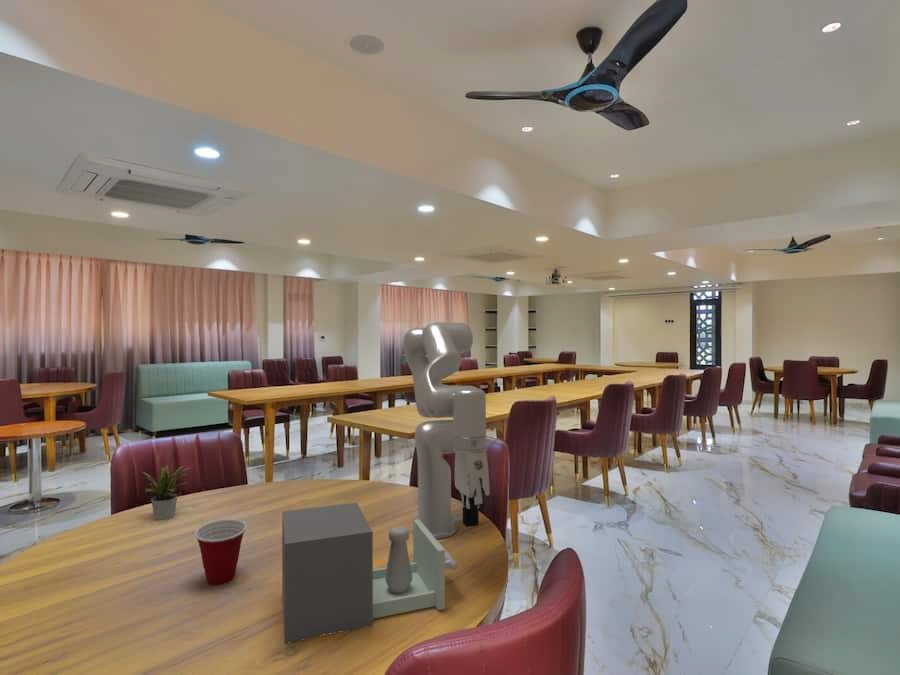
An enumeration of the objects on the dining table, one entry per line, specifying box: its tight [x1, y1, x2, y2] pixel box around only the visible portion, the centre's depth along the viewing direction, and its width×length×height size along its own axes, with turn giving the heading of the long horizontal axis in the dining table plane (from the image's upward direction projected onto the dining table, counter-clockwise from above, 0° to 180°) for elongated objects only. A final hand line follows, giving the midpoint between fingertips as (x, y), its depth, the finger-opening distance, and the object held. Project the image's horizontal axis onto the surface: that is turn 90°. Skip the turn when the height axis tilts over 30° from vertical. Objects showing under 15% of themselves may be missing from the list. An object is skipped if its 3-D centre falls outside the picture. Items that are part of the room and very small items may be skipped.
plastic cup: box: [194, 518, 248, 586], centre depth 111 cm, size 11×11×12 cm
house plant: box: [141, 464, 191, 521], centre depth 150 cm, size 14×14×16 cm
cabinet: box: [281, 502, 374, 644], centre depth 99 cm, size 16×18×18 cm
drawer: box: [373, 518, 458, 620], centre depth 105 cm, size 20×18×12 cm
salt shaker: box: [385, 525, 412, 594], centre depth 104 cm, size 6×6×13 cm
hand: (470, 524), depth 109 cm, fingers closed
